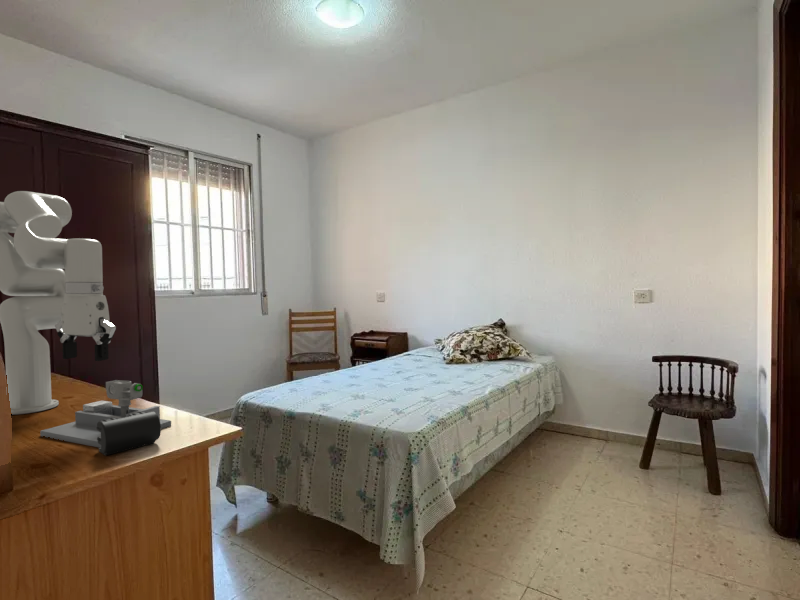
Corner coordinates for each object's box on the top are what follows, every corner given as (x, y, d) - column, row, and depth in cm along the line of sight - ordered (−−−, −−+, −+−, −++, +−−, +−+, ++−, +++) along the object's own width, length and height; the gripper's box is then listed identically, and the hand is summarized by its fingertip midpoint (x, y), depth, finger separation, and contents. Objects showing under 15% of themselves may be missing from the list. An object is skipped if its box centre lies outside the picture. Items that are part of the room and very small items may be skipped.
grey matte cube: (83, 421, 106) (82, 404, 106) (102, 416, 110) (101, 400, 110) (94, 423, 104) (93, 406, 104) (112, 417, 108) (112, 401, 108)
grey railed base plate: (40, 436, 100) (39, 413, 99) (111, 416, 114) (110, 396, 114) (103, 448, 91) (102, 423, 91) (171, 425, 106) (170, 404, 105)
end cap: (106, 460, 85) (105, 425, 84) (95, 452, 89) (94, 418, 89) (161, 445, 92) (160, 413, 92) (148, 438, 97) (147, 408, 97)
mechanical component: (134, 428, 100) (133, 384, 99) (104, 424, 104) (102, 382, 103) (146, 424, 103) (145, 382, 102) (116, 420, 106) (115, 379, 106)
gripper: (126, 289, 109) (127, 358, 110) (70, 289, 113) (72, 355, 114) (99, 290, 102) (100, 363, 103) (40, 289, 106) (42, 360, 107)
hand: (85, 359), depth 108 cm, fingers open, 9 cm apart
